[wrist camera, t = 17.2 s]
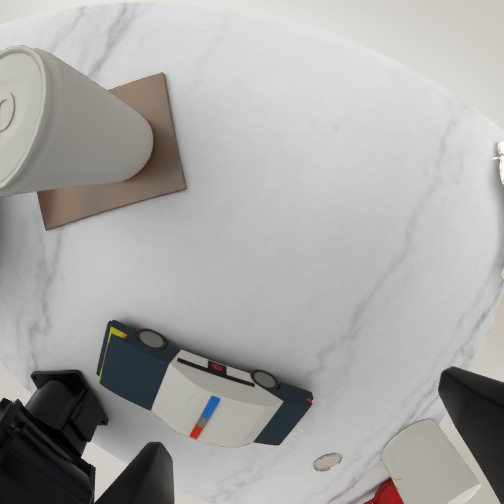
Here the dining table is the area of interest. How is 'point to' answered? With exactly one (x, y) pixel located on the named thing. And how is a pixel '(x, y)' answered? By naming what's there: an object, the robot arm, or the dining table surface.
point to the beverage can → (63, 127)
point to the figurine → (501, 171)
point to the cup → (428, 466)
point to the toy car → (198, 390)
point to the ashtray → (326, 462)
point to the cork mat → (142, 183)
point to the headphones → (386, 495)
